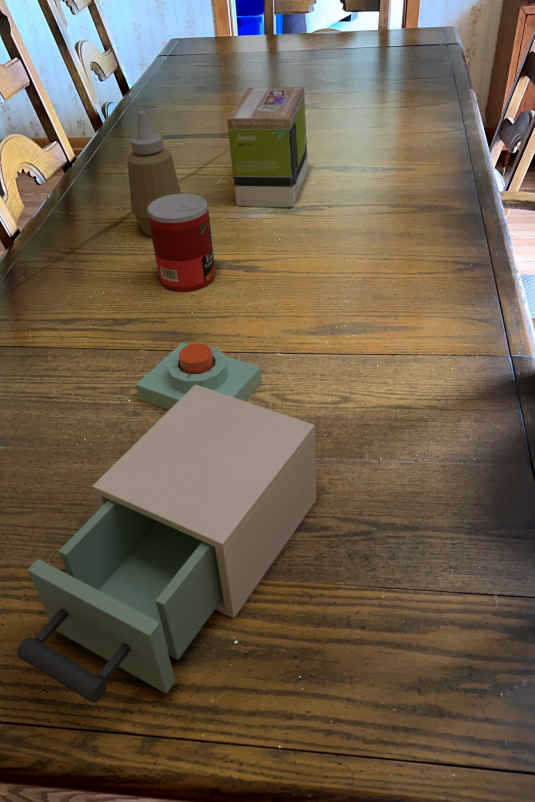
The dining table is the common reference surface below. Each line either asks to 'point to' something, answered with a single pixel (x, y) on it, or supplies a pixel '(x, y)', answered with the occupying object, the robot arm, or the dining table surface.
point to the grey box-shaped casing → (221, 482)
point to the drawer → (123, 599)
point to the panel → (198, 379)
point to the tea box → (268, 146)
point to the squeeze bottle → (149, 171)
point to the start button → (196, 359)
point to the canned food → (182, 241)
